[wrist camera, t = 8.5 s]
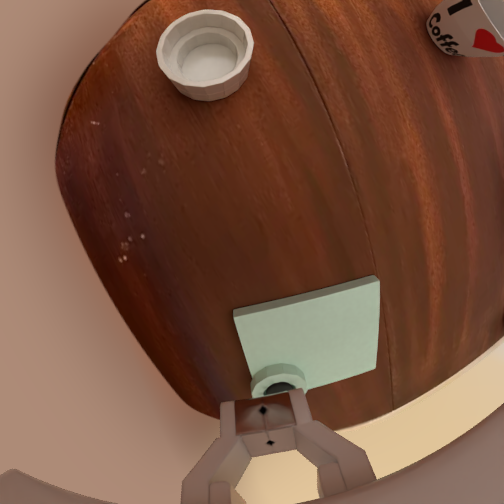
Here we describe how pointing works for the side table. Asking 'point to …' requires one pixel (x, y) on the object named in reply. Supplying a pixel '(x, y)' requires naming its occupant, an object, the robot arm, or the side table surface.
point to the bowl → (206, 54)
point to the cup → (468, 27)
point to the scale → (311, 336)
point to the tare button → (278, 388)
